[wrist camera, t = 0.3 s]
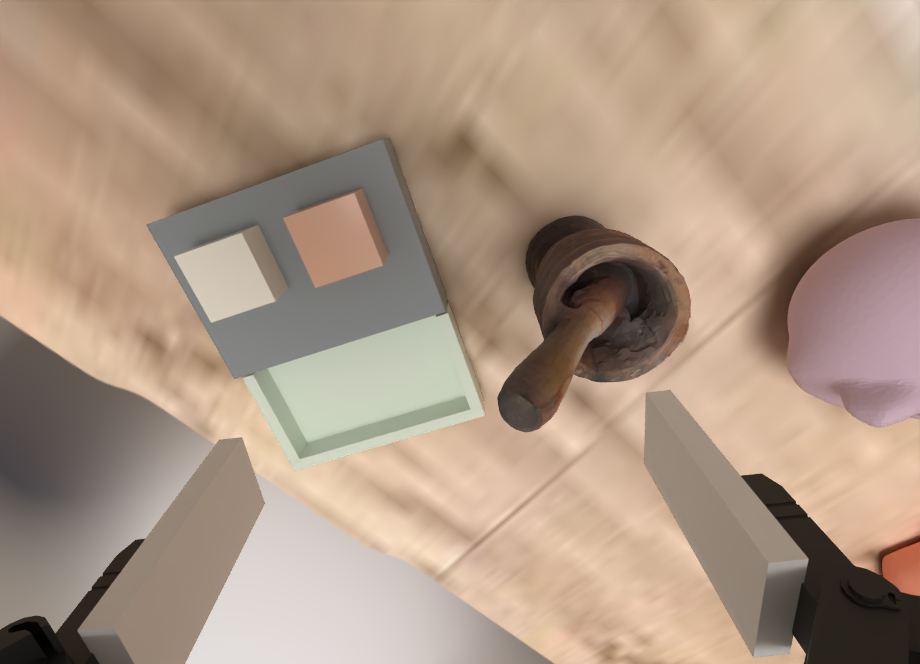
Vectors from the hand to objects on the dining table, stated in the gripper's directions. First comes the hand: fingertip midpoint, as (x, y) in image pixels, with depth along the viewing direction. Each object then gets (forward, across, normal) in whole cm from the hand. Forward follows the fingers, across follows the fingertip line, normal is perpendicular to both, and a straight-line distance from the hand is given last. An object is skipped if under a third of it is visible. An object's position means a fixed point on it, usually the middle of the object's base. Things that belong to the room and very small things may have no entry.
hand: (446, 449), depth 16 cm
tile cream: (+22, -15, +2) cm, 27 cm away
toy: (+26, +33, -8) cm, 43 cm away
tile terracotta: (+22, -7, +4) cm, 24 cm away
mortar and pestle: (+26, +8, -2) cm, 28 cm away
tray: (+26, -9, -10) cm, 29 cm away
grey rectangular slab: (+26, -11, +1) cm, 28 cm away
